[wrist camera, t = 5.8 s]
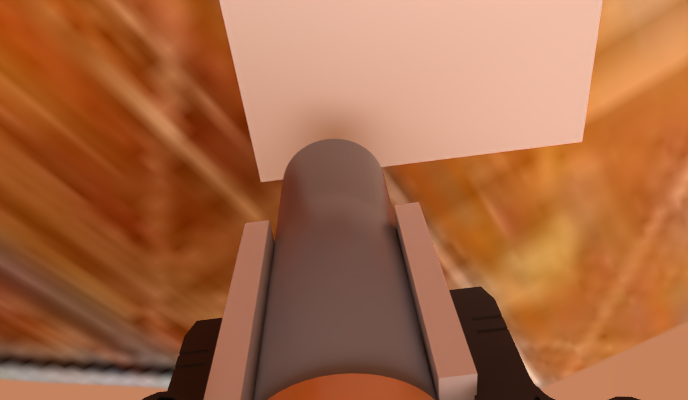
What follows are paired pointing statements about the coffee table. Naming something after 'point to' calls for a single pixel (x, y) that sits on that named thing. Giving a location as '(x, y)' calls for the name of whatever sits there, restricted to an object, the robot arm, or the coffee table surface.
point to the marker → (339, 287)
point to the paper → (411, 75)
